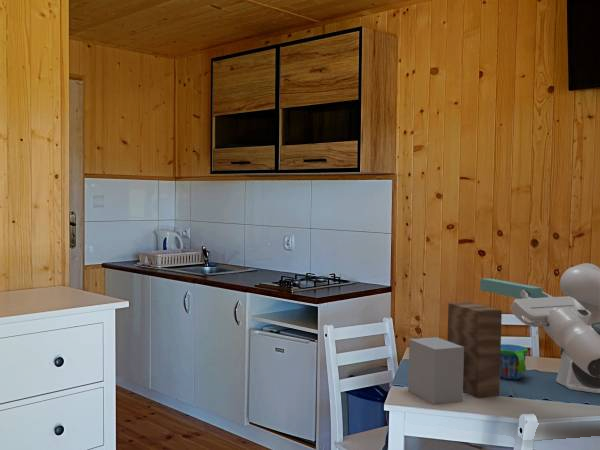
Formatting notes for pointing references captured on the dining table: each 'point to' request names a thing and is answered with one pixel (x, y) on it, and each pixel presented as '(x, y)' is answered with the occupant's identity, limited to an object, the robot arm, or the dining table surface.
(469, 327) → the walnut stand
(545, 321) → the robot arm
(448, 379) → the base block
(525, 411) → the dining table surface
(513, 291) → the batten
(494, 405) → the dining table surface
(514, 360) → the snack cup
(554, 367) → the dining table surface
